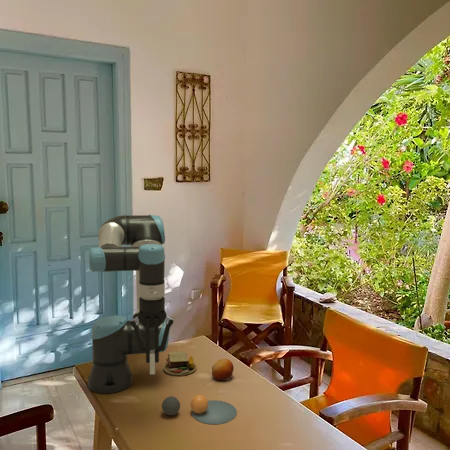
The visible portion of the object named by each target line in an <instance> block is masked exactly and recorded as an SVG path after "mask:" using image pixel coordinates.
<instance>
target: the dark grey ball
mask: <svg viewBox="0 0 450 450" xmlns="http://www.w3.org/2000/svg"><path fill="white" fill-rule="evenodd" d="M180 408H181V403H180V400H179V399H178V398H177V397H175V396H172V395H171V396H167V397H165V399H164V400H163V402H162V404H161V409H162V411H163V413H164V414H166V415H168V416H175V415H177V414H178V413H179V411H180Z"/></svg>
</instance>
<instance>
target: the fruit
mask: <svg viewBox="0 0 450 450" xmlns="http://www.w3.org/2000/svg"><path fill="white" fill-rule="evenodd" d="M234 368H235V367H234V364H233V362H232V361H231V360H230V359H228V358H221V359H218V360H217V361H216V362H214V363H213V364H212V367H211V376H213V378H214V379H216V380H218V381H221V382H222V381H230V378H231V377H233V372H234Z"/></svg>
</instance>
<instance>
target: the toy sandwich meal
mask: <svg viewBox="0 0 450 450" xmlns="http://www.w3.org/2000/svg"><path fill="white" fill-rule="evenodd" d="M188 357H189V358H188ZM165 361H166V362H167V363H165V364H164V365H163V366H162V367H163V368H162V369H163V371H164V372H165V373H166V374H168V375H170V376H177V377H178V376H179V377H180V376H181V377H183V376H187V375H190V374H193V373H194V372H195V371H196V369H197V366H198V365H197V364H196V363H194V358H193V356H192V355H189V356H188V353H187V352H186V351H171V352H168V353H167V358H166V360H165Z"/></svg>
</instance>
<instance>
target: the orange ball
mask: <svg viewBox="0 0 450 450" xmlns="http://www.w3.org/2000/svg"><path fill="white" fill-rule="evenodd" d="M208 401H209V400H208V399H207V397H206V396H204V395H203V394H197V395H195V396H193V397H192V399H191V400H190V405H189V406H190V409H191V412H192V411H193V412H195V413H197V414H201V413H204V412H205V411H206V410H207V408H208Z"/></svg>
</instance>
